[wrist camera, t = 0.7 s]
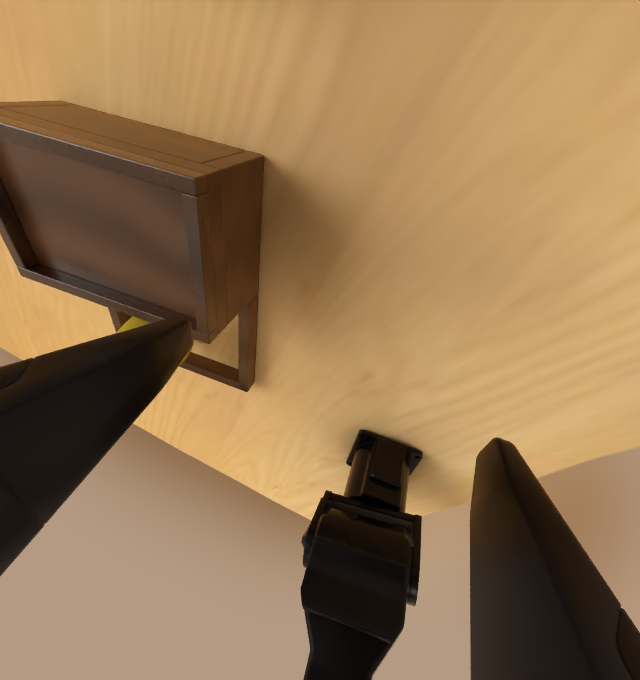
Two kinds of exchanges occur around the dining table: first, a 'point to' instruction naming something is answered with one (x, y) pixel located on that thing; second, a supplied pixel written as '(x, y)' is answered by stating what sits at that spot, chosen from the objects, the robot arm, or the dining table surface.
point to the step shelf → (135, 221)
